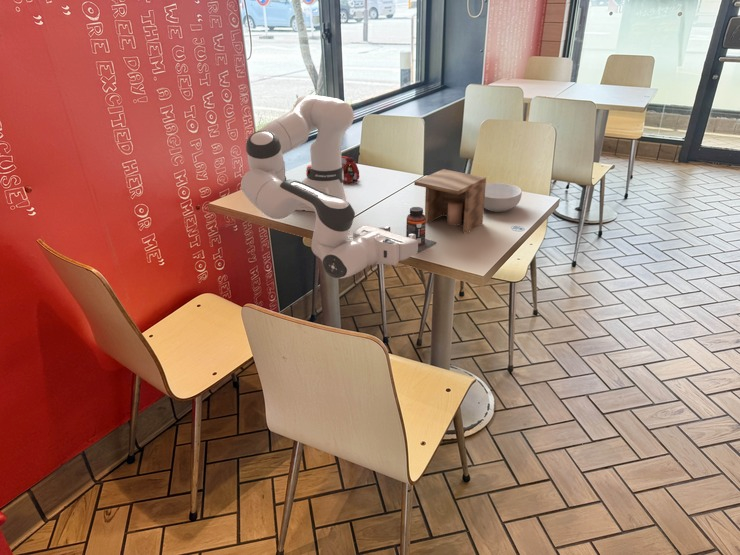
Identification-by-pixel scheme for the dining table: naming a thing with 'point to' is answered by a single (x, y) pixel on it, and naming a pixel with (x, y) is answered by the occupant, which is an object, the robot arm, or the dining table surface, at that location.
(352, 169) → the toy fire truck
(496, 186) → the cereal bowl
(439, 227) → the dining table surface
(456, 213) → the tan round cylinder
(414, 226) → the supplement bottle
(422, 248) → the slate mat
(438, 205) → the walnut shelf
